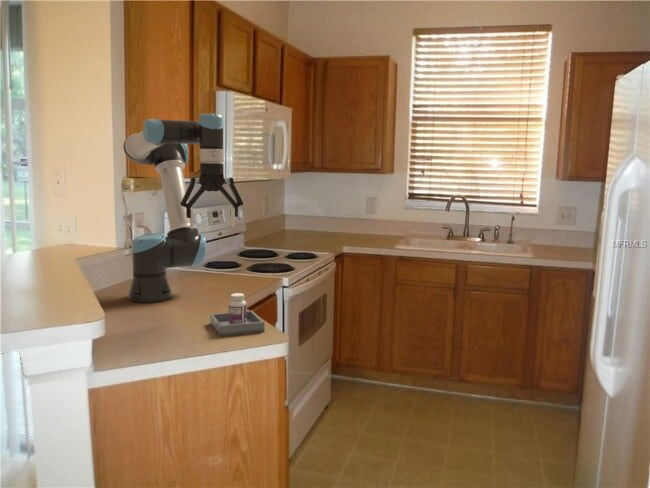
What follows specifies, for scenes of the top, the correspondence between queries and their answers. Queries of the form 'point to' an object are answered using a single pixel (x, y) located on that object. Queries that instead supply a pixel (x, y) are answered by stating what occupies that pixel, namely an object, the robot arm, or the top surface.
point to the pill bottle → (237, 309)
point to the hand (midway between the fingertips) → (212, 227)
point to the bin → (224, 329)
